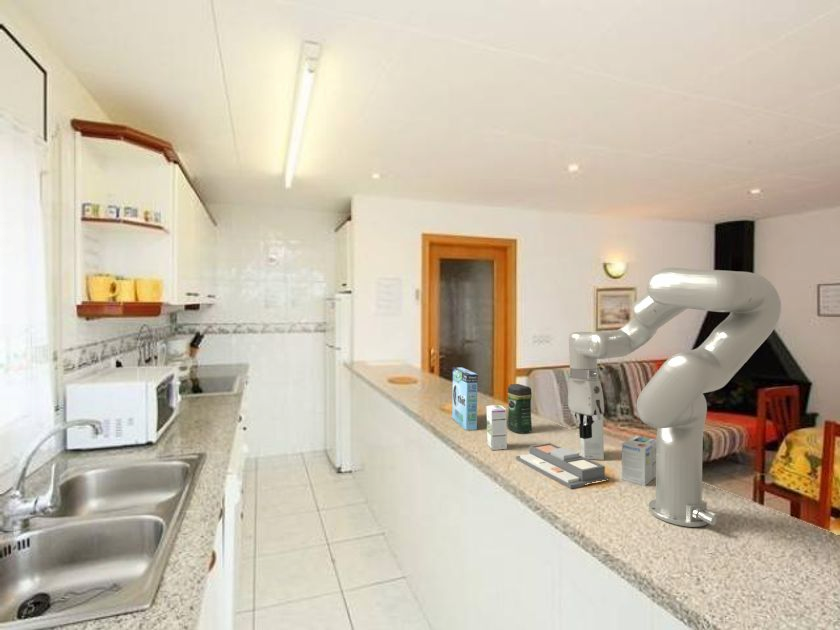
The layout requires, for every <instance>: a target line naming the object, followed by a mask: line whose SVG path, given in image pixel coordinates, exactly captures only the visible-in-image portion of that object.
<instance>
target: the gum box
mask: <svg viewBox="0 0 840 630" xmlns="http://www.w3.org/2000/svg"><path fill="white" fill-rule="evenodd" d="M478 375H479V374H477V373H476V372H473V371H471V370H469V369H466V368H464V367H462V366H461V367H452V398H451V399H452V410H451V411H452V412H451V414H452V415H451V418H453V419H452V420H453V421H455V422H456V424H458V425H459V426H460V425H461V426H460V427H462V428H463V429H464V430H465V431H466V430H473V431H477V430H478Z"/></svg>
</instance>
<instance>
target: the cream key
mask: <svg viewBox="0 0 840 630" xmlns="http://www.w3.org/2000/svg"><path fill="white" fill-rule="evenodd" d="M568 463H570V464H572V465H574V466H576V467H578V468H580V469H587V468H592V467H597V465H594V464H592V463H590V462H587V461H585V460H579V461H573V462H568Z"/></svg>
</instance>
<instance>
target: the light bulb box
mask: <svg viewBox="0 0 840 630" xmlns="http://www.w3.org/2000/svg"><path fill="white" fill-rule="evenodd" d="M654 479H656V439H655V438H649V437H643V436H640V435H639V436H638V435H634V436H633V437H631V438H629V439H627V440H626V441H624V442H622V444H621V480H624V481H627V482H630V483H634V484H637V485H641V486H646V485H648V484H649V483H650V482H652V480H654Z"/></svg>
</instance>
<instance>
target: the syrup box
mask: <svg viewBox="0 0 840 630" xmlns="http://www.w3.org/2000/svg"><path fill="white" fill-rule="evenodd" d="M507 429H508V421H507V408H505V407H504V406H503V405H501V404H493V405H486V445H488V446H489V447H490V448H491V449H492V450H491V449H490V450H491V451H502V450H501V449H505V450H507V449H508V447H507V446H508V437H507V436H508V435H507V434H508V433H507V432H508V431H507ZM488 446H487V447H488ZM498 449H500V450H498Z"/></svg>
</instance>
